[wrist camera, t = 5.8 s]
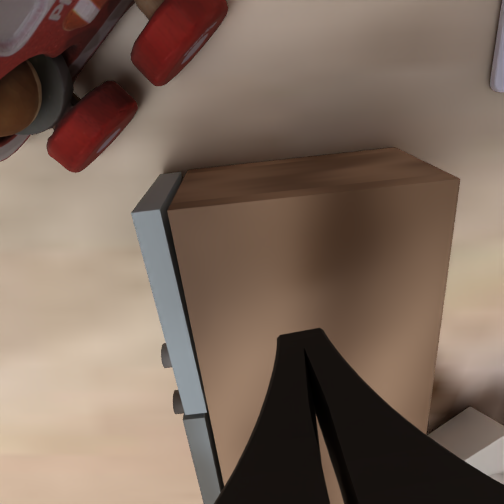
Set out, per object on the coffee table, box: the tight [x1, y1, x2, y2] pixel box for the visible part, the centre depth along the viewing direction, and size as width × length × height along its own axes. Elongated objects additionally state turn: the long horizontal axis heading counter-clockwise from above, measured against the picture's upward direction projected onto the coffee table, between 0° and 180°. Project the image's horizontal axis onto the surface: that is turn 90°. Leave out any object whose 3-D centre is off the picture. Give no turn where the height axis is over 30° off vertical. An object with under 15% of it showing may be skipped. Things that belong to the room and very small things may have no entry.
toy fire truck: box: [0, 0, 228, 173], centre depth 11 cm, size 7×12×10 cm, turn 133°
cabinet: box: [167, 147, 460, 504], centre depth 20 cm, size 12×20×6 cm, turn 6°
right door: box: [131, 172, 208, 415], centre depth 18 cm, size 2×10×6 cm, turn 7°
